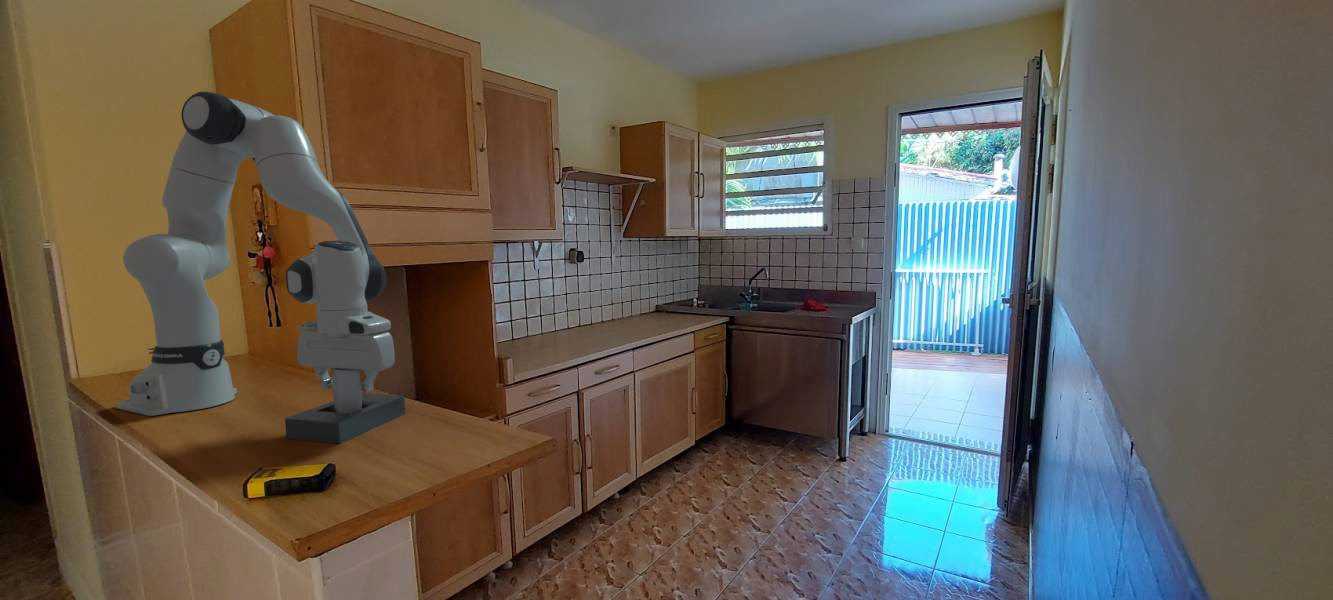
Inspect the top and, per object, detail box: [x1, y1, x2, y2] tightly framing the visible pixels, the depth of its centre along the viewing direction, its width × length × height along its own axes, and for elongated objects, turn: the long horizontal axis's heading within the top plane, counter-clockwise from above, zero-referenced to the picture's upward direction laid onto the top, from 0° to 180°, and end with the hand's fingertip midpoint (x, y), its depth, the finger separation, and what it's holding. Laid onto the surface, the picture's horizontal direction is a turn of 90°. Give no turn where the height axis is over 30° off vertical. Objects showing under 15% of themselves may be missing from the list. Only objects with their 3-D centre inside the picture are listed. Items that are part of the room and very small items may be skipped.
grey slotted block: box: [284, 392, 406, 445], centre depth 111 cm, size 12×18×4 cm, turn 168°
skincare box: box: [331, 368, 362, 414], centre depth 110 cm, size 6×4×12 cm
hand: (347, 389), depth 110 cm, fingers open, 8 cm apart
